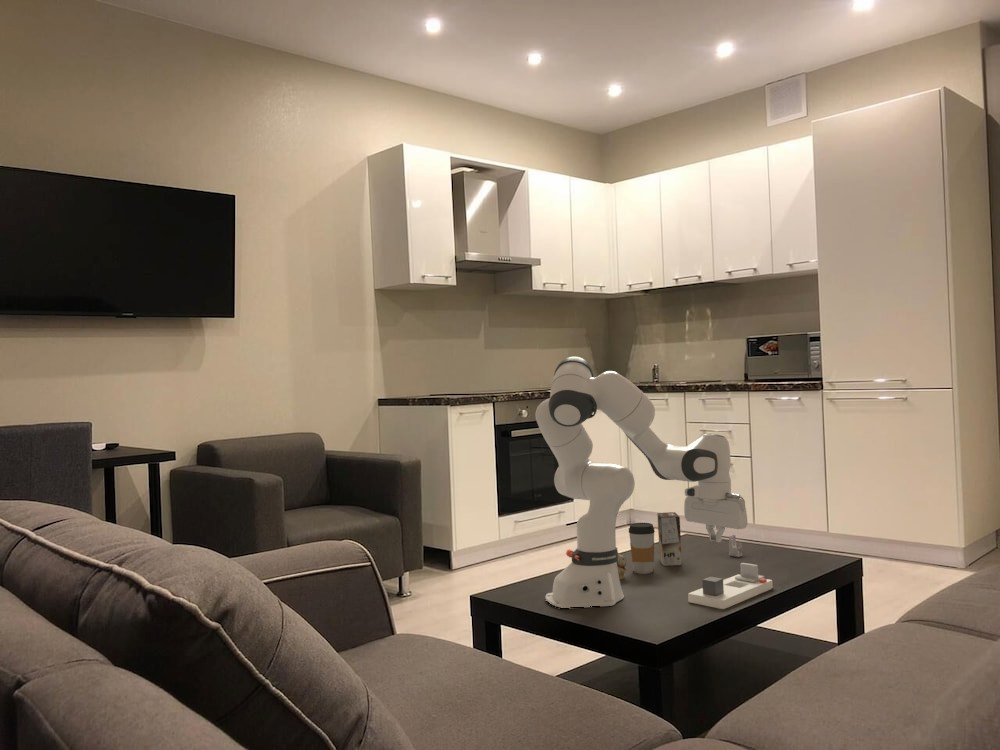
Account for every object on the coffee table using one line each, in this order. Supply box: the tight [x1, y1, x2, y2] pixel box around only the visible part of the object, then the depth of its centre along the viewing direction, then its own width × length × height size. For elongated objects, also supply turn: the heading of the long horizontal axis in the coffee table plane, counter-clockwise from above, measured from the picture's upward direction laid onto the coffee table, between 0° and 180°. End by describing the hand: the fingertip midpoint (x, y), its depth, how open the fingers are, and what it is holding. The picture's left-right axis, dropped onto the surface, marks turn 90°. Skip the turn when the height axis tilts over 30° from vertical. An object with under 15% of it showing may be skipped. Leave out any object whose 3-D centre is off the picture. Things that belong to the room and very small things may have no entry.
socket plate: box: [687, 573, 774, 610], centre depth 229 cm, size 26×11×3 cm, turn 133°
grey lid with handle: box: [735, 562, 765, 582], centre depth 236 cm, size 6×6×4 cm
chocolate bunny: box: [618, 552, 628, 581], centre depth 254 cm, size 6×8×10 cm
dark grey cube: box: [702, 576, 724, 596], centre depth 223 cm, size 4×4×4 cm
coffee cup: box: [628, 522, 656, 574], centre depth 261 cm, size 8×8×15 cm
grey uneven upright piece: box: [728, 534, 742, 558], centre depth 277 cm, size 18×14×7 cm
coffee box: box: [657, 511, 683, 567], centre depth 271 cm, size 9×6×16 cm
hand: (715, 541), depth 226 cm, fingers closed
